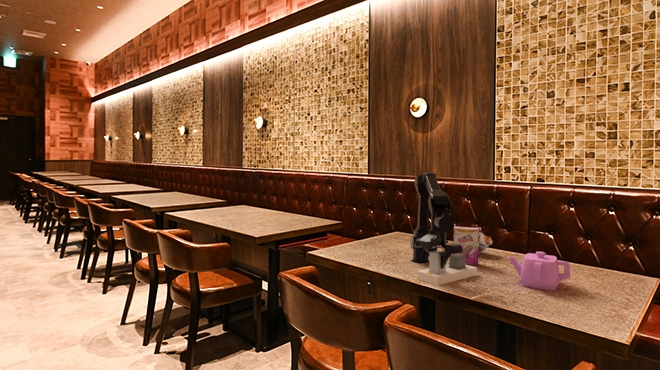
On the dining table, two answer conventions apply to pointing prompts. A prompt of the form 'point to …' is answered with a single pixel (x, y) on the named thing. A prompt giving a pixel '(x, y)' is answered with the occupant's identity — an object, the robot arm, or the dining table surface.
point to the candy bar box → (468, 243)
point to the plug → (436, 263)
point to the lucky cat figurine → (484, 242)
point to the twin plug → (457, 261)
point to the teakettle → (541, 271)
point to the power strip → (446, 275)
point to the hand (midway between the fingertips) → (437, 267)
